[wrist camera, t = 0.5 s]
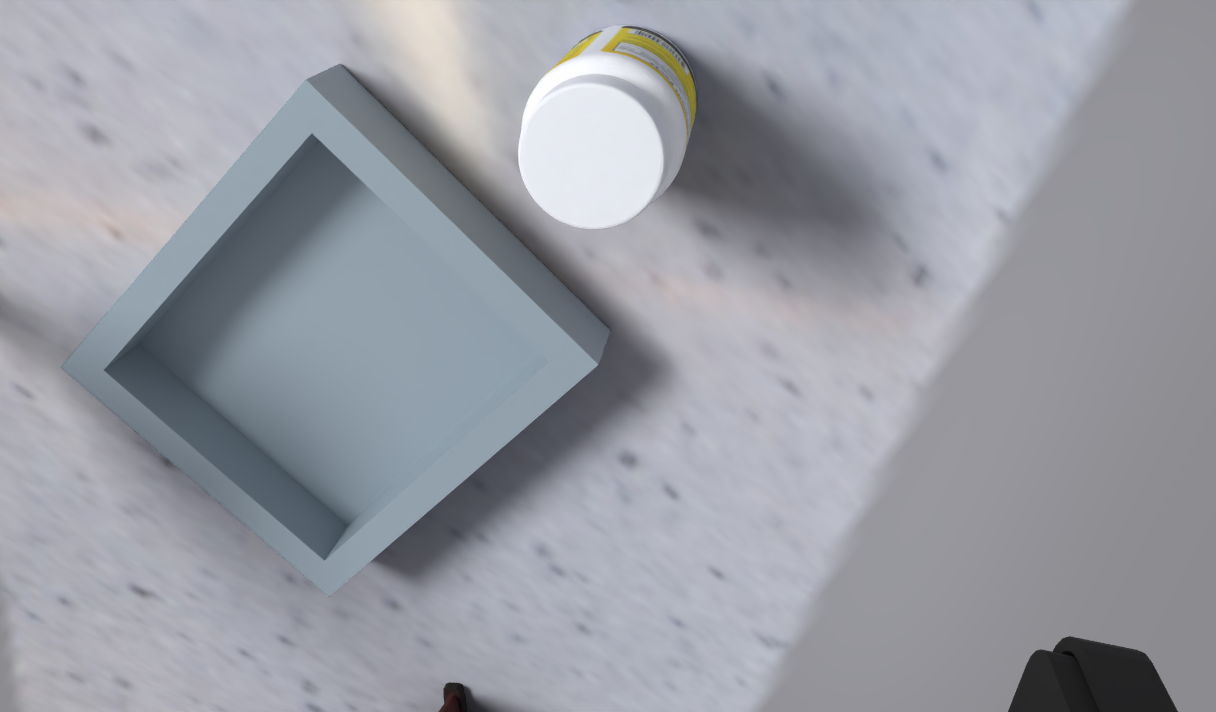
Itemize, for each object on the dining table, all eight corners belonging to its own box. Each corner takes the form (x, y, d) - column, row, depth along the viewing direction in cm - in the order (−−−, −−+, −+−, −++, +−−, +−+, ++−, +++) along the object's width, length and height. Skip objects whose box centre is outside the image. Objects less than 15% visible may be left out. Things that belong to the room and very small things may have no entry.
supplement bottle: (568, 172, 38) (516, 251, 30) (547, 32, 36) (485, 78, 29) (706, 158, 37) (688, 236, 30) (691, 14, 35) (668, 57, 28)
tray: (340, 63, 38) (306, 79, 35) (610, 330, 40) (598, 364, 38) (105, 335, 43) (60, 367, 41) (355, 553, 46) (329, 596, 43)
